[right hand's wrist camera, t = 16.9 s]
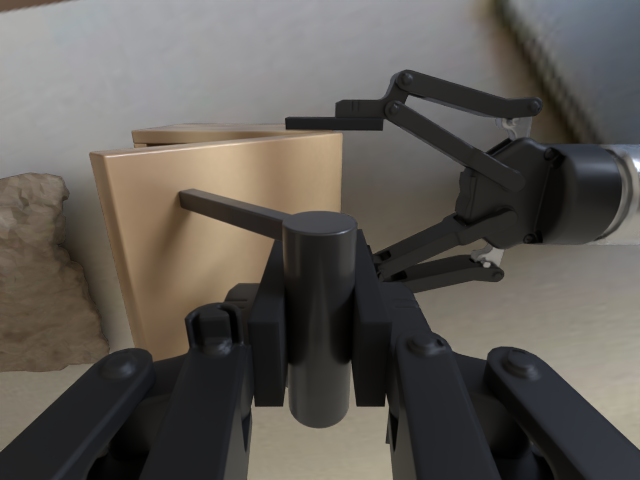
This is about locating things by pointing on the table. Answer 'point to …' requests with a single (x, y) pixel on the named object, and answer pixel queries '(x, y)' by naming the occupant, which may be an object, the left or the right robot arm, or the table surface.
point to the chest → (209, 133)
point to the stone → (42, 282)
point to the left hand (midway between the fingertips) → (289, 194)
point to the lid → (238, 247)
